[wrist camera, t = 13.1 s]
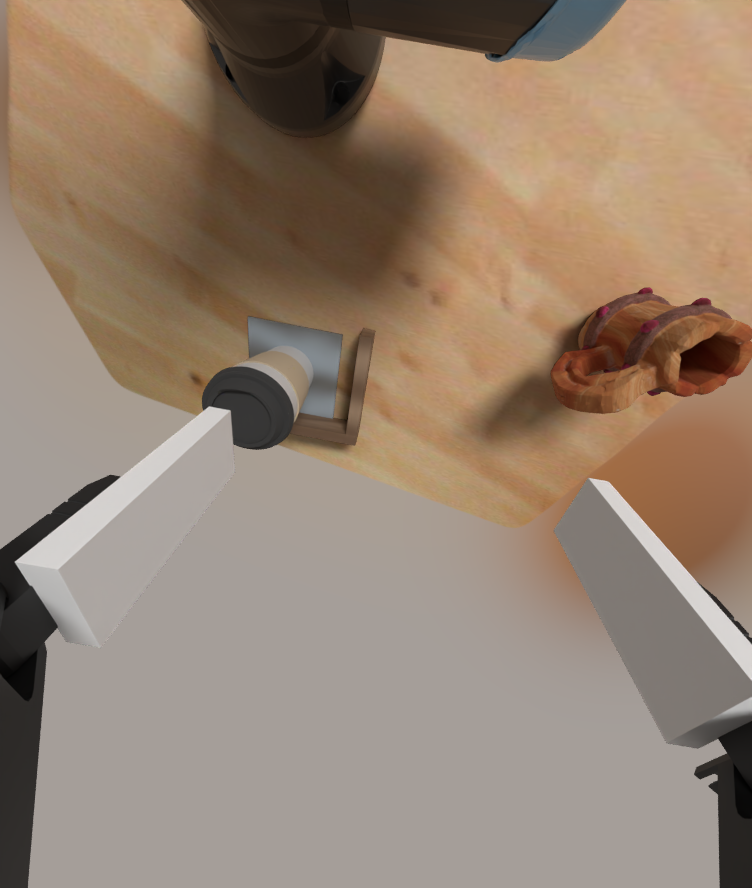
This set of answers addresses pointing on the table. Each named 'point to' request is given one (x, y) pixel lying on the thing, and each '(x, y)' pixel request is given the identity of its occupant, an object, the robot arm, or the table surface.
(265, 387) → the coffee cup
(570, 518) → the robot arm
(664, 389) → the mug
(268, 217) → the table surface
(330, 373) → the arena
